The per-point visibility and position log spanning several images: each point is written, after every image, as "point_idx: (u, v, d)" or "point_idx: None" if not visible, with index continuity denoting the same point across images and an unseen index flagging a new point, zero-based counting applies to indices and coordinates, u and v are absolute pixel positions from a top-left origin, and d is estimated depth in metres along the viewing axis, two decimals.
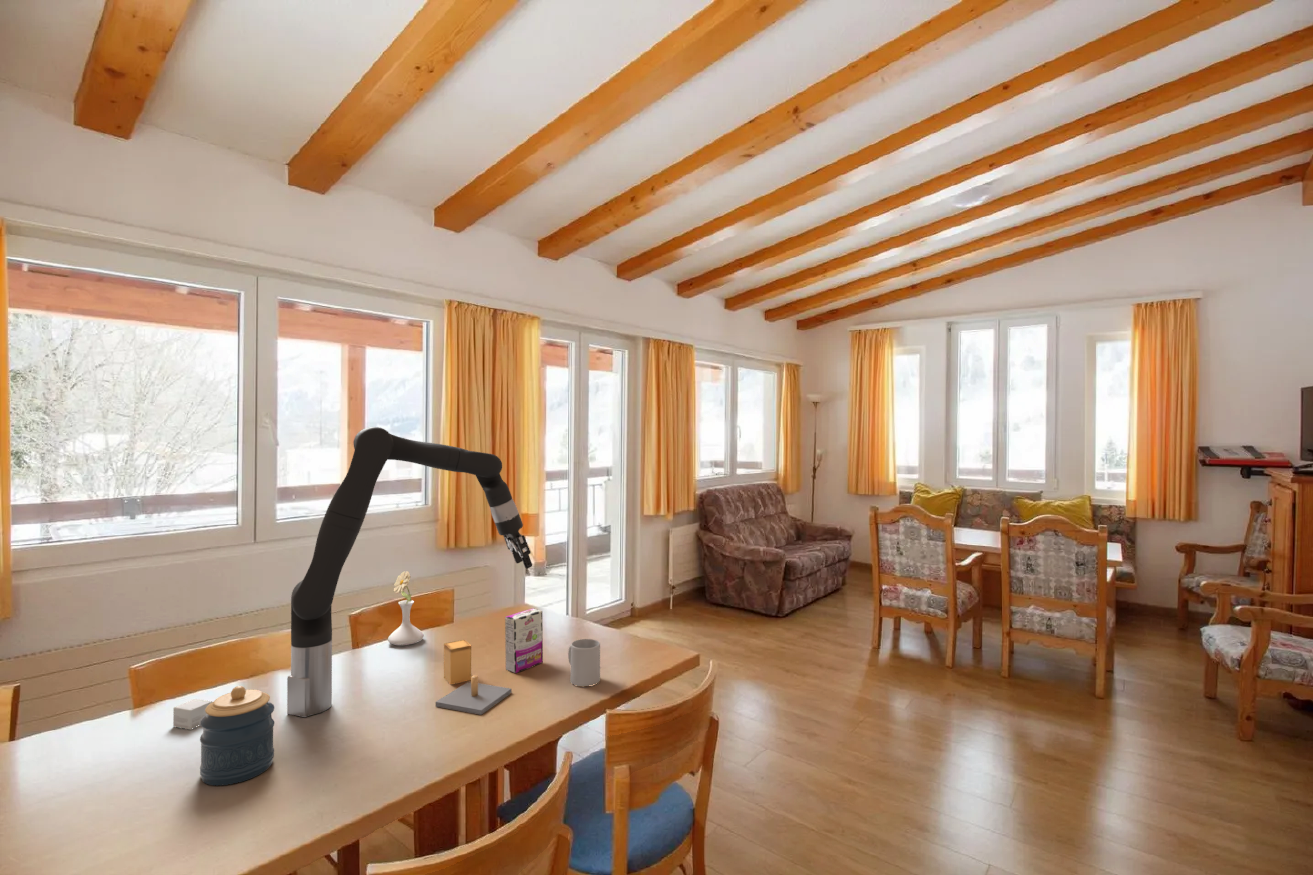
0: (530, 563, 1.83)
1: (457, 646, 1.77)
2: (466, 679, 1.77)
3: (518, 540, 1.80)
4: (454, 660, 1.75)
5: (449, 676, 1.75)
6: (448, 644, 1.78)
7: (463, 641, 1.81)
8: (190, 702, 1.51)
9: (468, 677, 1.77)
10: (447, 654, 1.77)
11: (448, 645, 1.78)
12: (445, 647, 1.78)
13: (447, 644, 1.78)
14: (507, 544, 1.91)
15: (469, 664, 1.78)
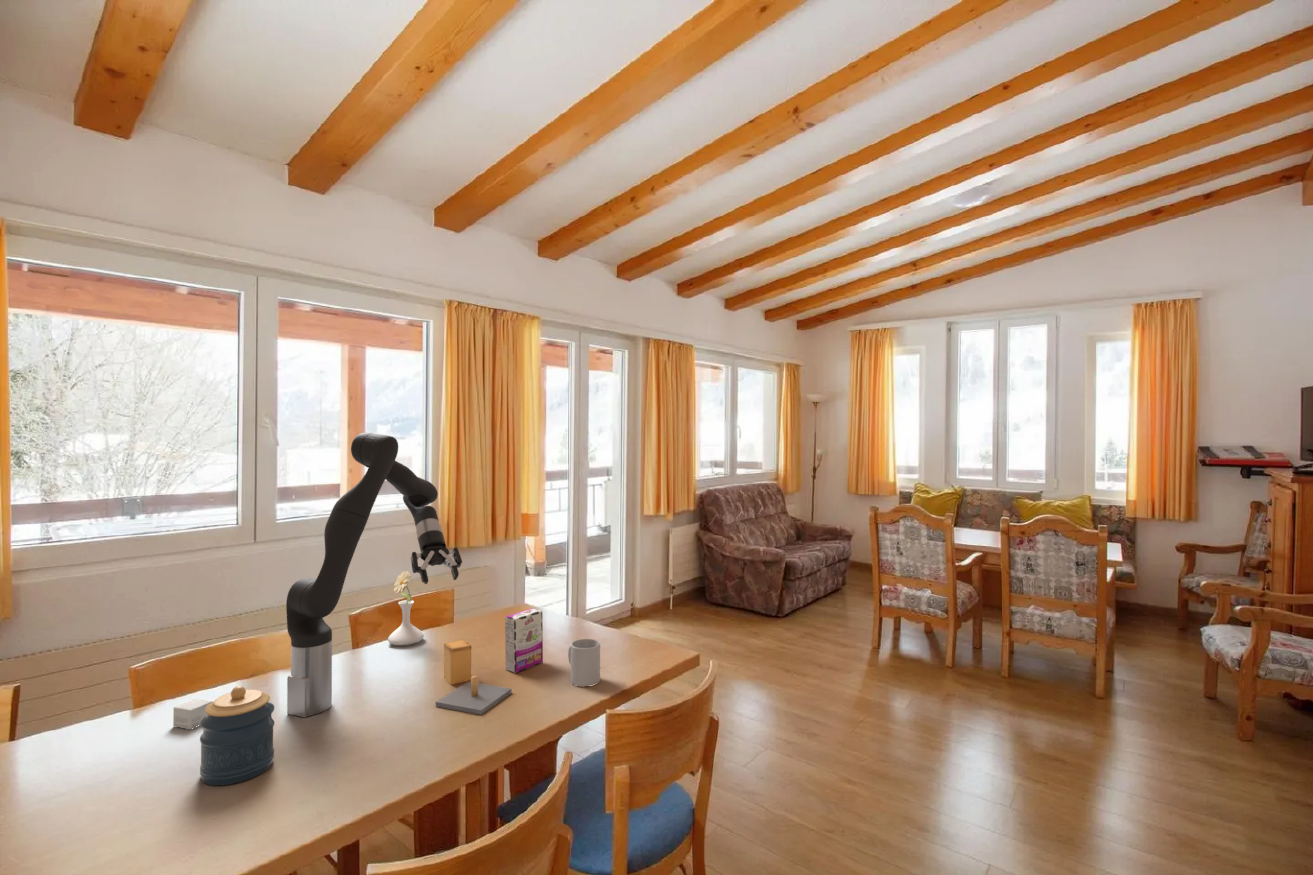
0: (457, 575, 1.88)
1: (457, 646, 1.77)
2: (466, 679, 1.77)
3: None
4: (454, 660, 1.75)
5: (449, 676, 1.75)
6: (448, 644, 1.78)
7: (463, 641, 1.81)
8: (190, 702, 1.51)
9: (468, 677, 1.77)
10: (447, 654, 1.77)
11: (448, 645, 1.78)
12: (445, 647, 1.78)
13: (447, 644, 1.78)
14: (417, 562, 1.83)
15: (469, 664, 1.78)
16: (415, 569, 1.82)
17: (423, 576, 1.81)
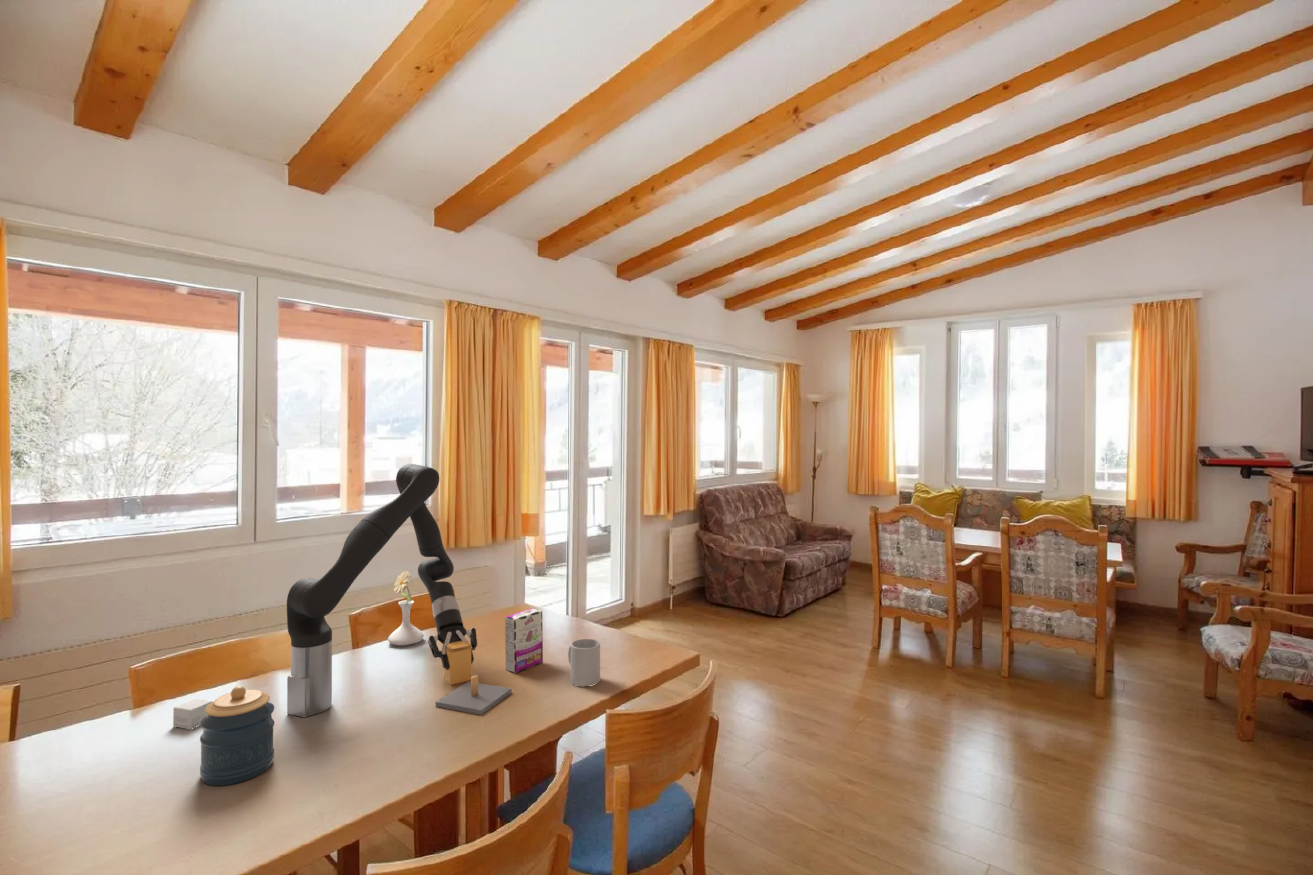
0: (472, 659, 1.81)
1: (457, 646, 1.77)
2: (466, 679, 1.77)
3: None
4: (454, 660, 1.75)
5: (449, 676, 1.75)
6: (448, 644, 1.78)
7: (463, 641, 1.81)
8: (190, 702, 1.51)
9: (468, 677, 1.77)
10: (447, 654, 1.77)
11: (448, 645, 1.78)
12: None
13: None
14: (437, 646, 1.77)
15: (469, 664, 1.78)
16: (436, 654, 1.76)
17: (444, 662, 1.75)
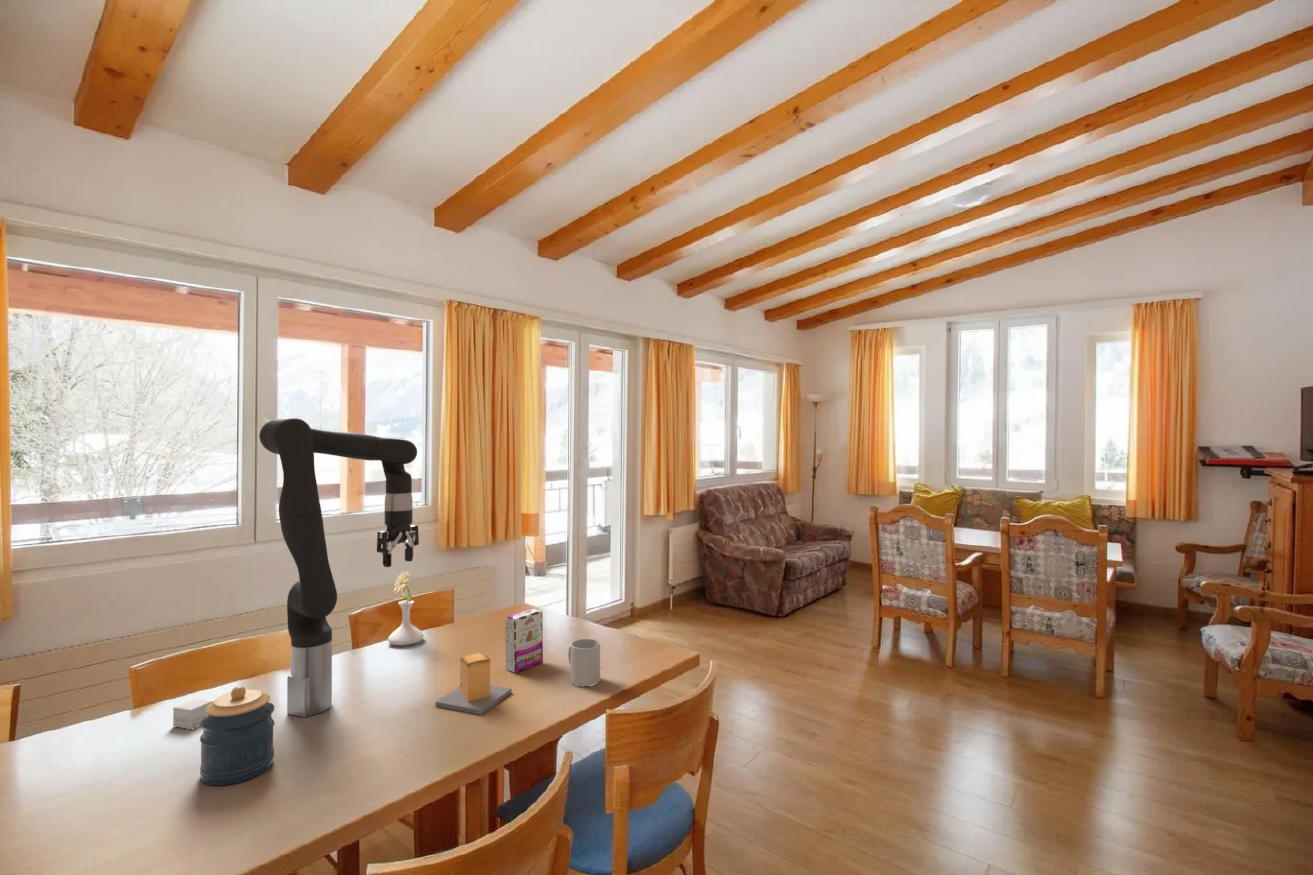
0: None
1: (475, 659, 1.63)
2: (485, 695, 1.64)
3: None
4: (472, 675, 1.61)
5: (466, 692, 1.61)
6: (465, 657, 1.65)
7: (481, 654, 1.68)
8: (190, 702, 1.51)
9: (487, 693, 1.64)
10: (464, 668, 1.63)
11: (465, 658, 1.64)
12: (462, 660, 1.65)
13: (464, 657, 1.65)
14: (386, 545, 1.73)
15: (488, 679, 1.64)
16: (382, 552, 1.73)
17: (387, 561, 1.74)
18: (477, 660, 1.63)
